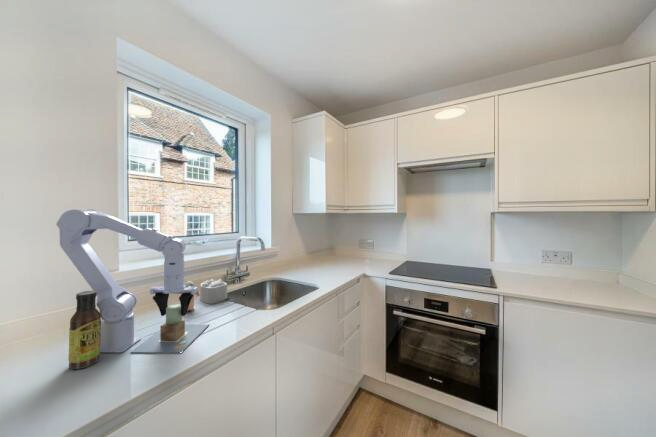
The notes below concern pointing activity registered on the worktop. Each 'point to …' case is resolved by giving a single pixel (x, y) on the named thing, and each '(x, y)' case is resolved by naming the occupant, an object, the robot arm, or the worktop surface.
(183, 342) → the board
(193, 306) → the grandmother figurine
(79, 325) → the sauce bottle
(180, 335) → the walnut block
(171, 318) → the sage drum
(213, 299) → the lumpy-topped squat cylinder
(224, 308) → the worktop surface
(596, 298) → the worktop surface
